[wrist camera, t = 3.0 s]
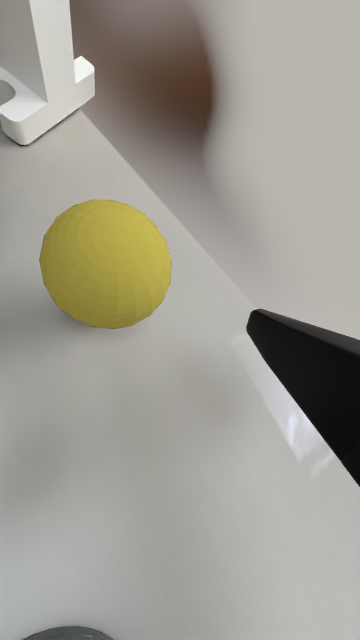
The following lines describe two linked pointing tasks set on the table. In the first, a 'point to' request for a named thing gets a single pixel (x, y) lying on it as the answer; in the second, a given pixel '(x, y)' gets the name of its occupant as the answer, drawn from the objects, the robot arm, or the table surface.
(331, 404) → the robot arm
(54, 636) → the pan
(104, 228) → the light bulb
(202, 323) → the table surface
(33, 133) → the white bracket stand
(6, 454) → the table surface
